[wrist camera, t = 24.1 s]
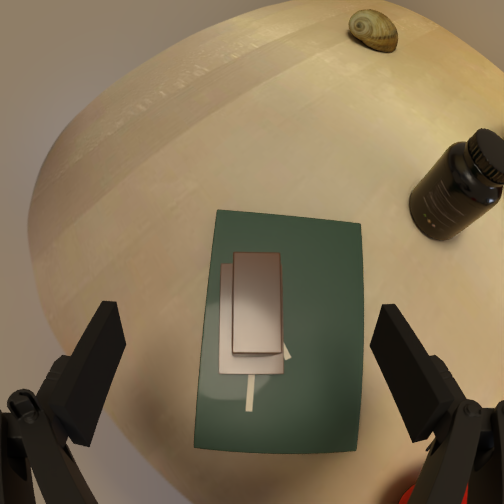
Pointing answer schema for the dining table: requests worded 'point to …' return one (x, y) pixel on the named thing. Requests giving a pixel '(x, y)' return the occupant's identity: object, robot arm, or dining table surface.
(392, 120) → the dining table surface
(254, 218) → the chalkboard
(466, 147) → the supplement bottle
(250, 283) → the duster
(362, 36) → the seashell
